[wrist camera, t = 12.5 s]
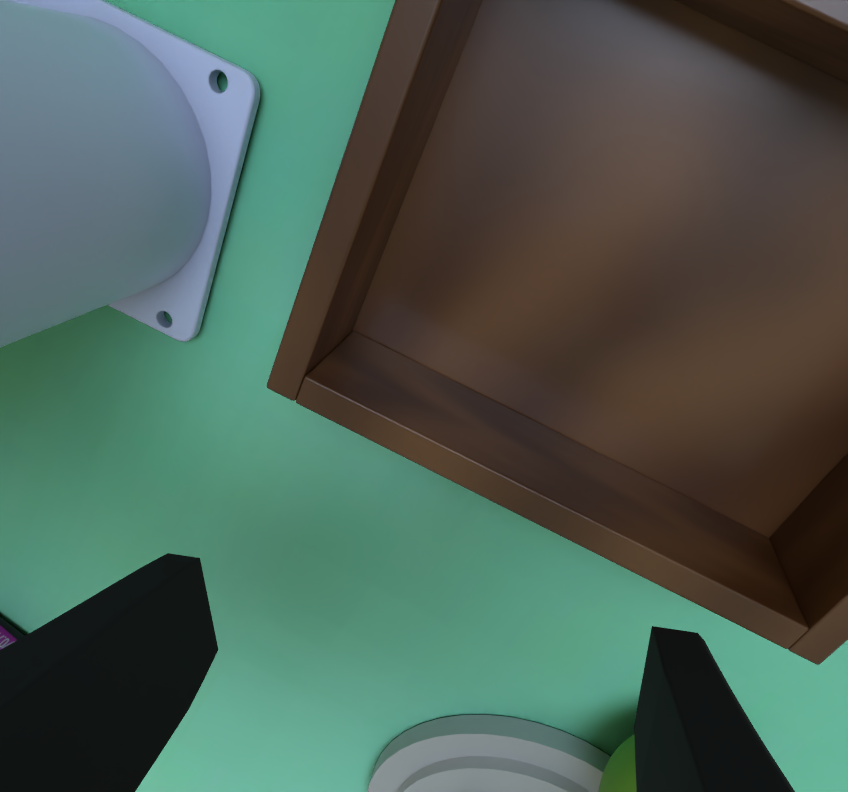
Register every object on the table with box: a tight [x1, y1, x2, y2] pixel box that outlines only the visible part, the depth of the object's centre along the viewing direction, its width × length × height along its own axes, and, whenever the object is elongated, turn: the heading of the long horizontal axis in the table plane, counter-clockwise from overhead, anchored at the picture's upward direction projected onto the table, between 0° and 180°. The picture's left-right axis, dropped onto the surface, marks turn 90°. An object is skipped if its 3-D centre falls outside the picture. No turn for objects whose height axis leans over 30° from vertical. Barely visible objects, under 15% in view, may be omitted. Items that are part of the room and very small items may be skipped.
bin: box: [267, 0, 848, 665], centre depth 14 cm, size 15×12×4 cm
